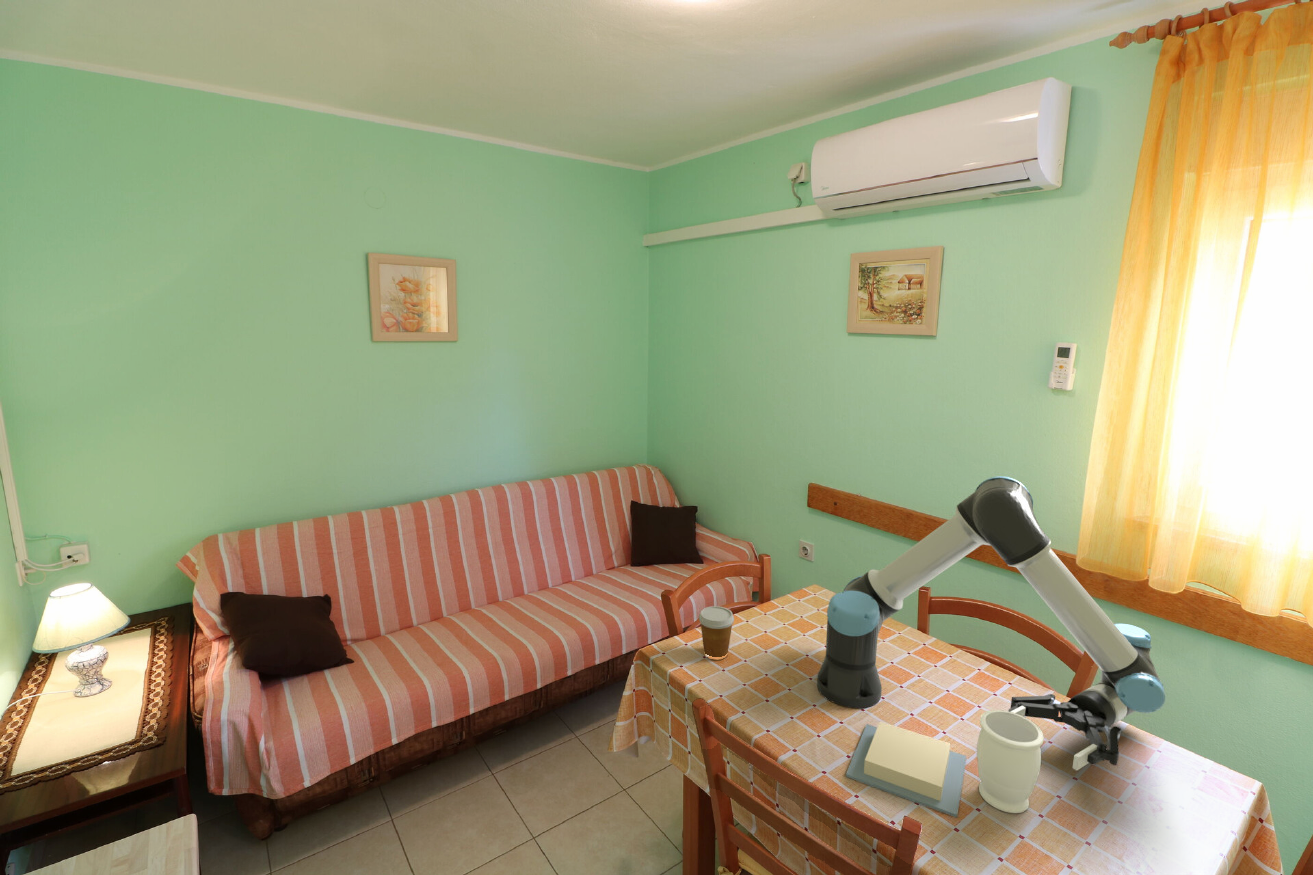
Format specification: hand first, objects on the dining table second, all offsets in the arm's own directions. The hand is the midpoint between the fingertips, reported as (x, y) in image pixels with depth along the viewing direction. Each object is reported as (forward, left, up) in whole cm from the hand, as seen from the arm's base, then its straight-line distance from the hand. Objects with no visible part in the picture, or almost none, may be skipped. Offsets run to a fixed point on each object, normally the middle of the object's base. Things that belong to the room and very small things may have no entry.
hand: (1038, 741), depth 120 cm
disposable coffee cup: (-74, +10, -8) cm, 75 cm away
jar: (-5, -8, -8) cm, 13 cm away
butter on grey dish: (-22, -9, -8) cm, 25 cm away
